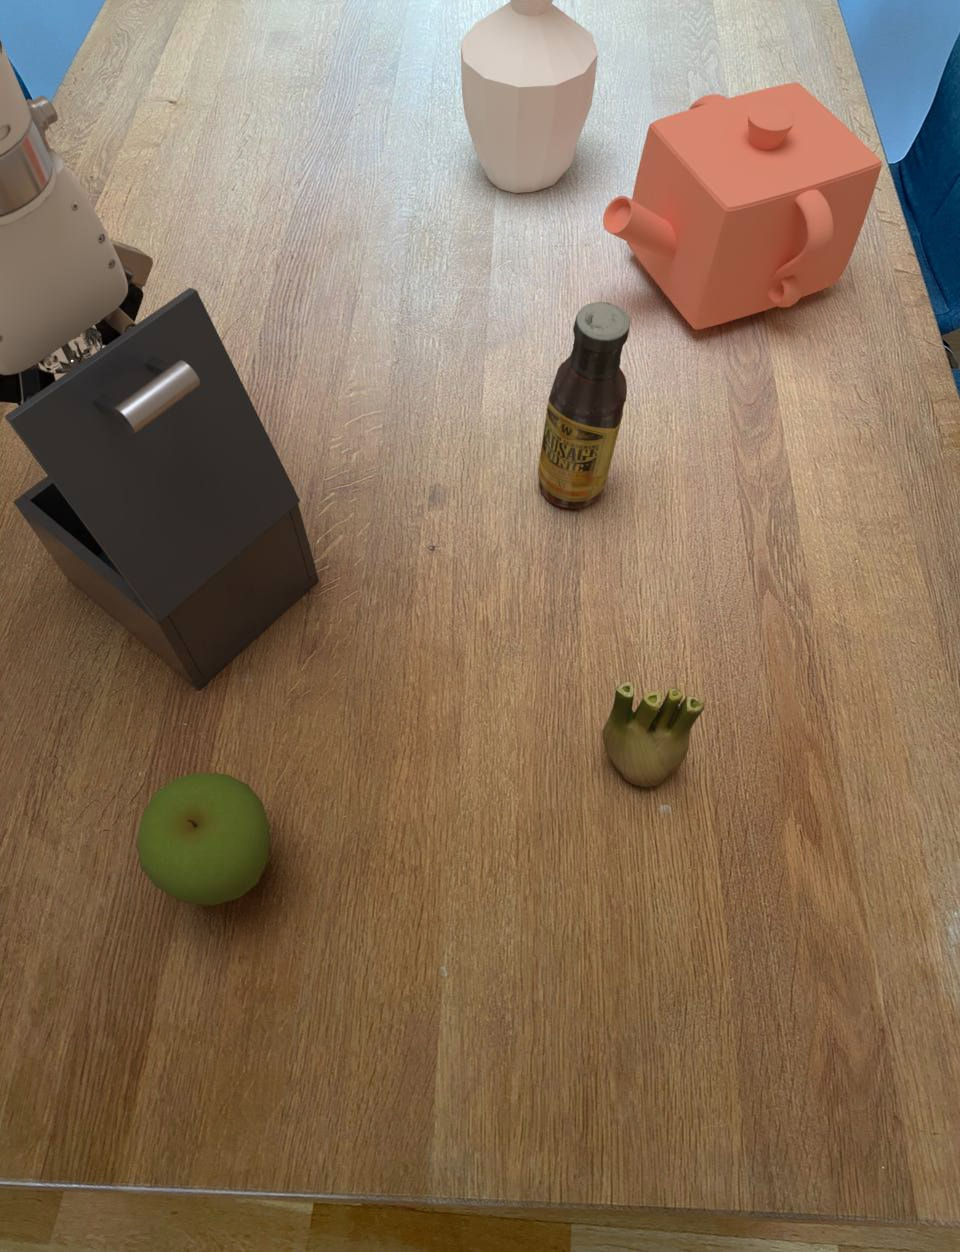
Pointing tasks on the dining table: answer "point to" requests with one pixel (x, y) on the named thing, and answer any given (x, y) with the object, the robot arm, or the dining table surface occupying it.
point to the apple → (204, 838)
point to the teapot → (746, 202)
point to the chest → (206, 619)
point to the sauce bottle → (585, 409)
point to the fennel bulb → (649, 734)
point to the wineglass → (69, 356)
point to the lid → (160, 453)
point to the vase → (527, 92)
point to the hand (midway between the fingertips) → (93, 402)
